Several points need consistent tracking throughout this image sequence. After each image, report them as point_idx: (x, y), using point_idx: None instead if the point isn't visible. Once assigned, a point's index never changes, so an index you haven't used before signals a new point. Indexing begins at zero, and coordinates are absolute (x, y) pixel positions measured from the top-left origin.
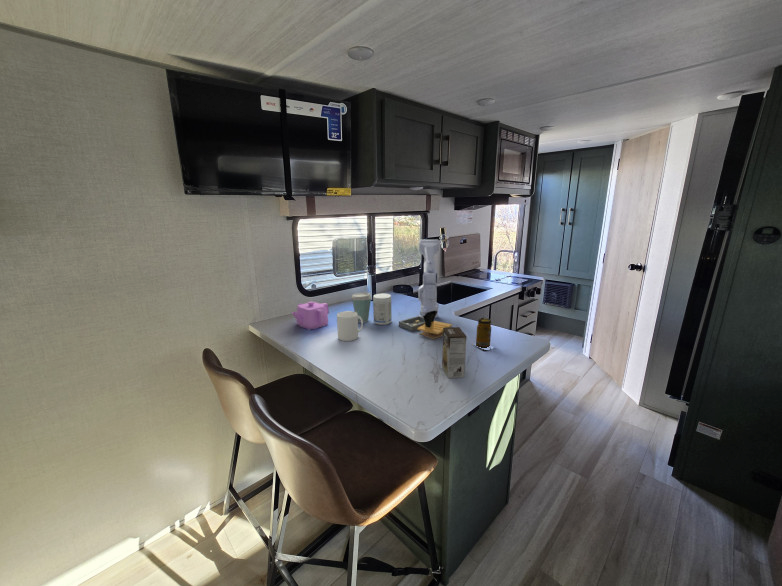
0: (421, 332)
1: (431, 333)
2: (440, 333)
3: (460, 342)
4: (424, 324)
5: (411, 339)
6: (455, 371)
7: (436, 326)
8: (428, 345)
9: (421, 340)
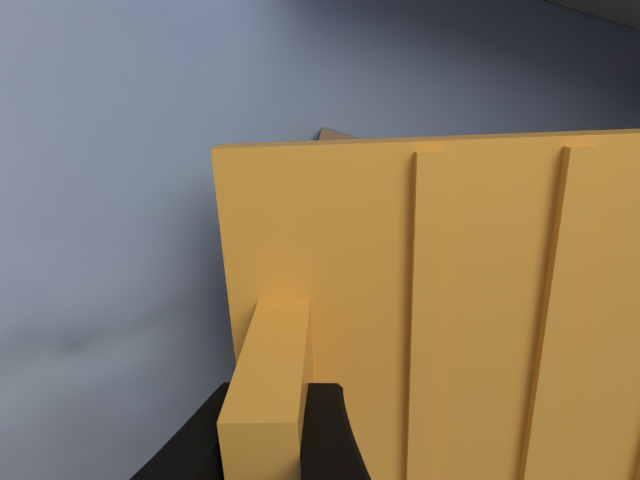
0: None
1: None
2: None
3: None
4: (549, 140)
5: (53, 146)
6: None
7: (531, 405)
8: (70, 416)
9: (129, 283)
